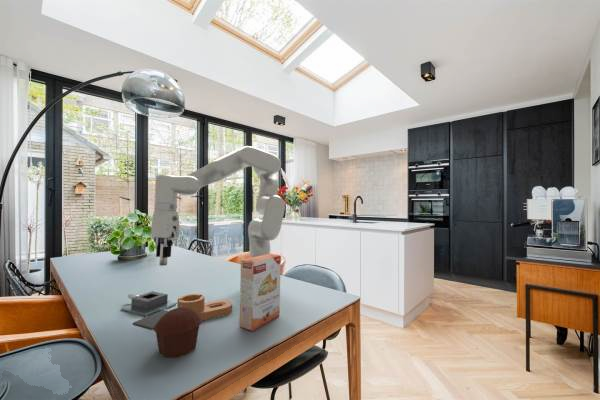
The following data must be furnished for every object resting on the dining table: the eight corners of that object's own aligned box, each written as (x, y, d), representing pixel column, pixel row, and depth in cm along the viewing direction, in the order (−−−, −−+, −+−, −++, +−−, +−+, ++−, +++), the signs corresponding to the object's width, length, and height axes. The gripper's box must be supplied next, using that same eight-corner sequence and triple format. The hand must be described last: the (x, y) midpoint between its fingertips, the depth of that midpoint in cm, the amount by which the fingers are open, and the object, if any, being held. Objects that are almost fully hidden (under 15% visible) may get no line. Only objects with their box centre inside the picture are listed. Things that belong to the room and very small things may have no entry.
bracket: (180, 326, 83) (180, 304, 83) (175, 317, 90) (175, 296, 90) (235, 313, 93) (235, 293, 93) (227, 305, 100) (227, 287, 100)
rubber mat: (182, 315, 90) (182, 314, 90) (152, 329, 80) (152, 328, 80) (163, 311, 94) (163, 310, 94) (132, 323, 84) (132, 322, 84)
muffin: (167, 337, 76) (168, 302, 76) (206, 337, 76) (207, 302, 76) (144, 362, 64) (144, 320, 64) (190, 362, 64) (191, 320, 64)
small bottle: (169, 264, 101) (170, 238, 101) (162, 266, 98) (163, 238, 98) (163, 263, 102) (165, 237, 102) (156, 265, 99) (157, 238, 99)
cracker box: (253, 332, 79) (254, 261, 80) (238, 327, 82) (239, 259, 83) (281, 316, 91) (281, 254, 91) (267, 312, 94) (267, 252, 95)
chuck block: (177, 304, 100) (177, 293, 100) (147, 316, 89) (148, 304, 89) (144, 297, 107) (144, 287, 107) (113, 308, 96) (113, 296, 96)
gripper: (189, 208, 101) (187, 257, 100) (159, 207, 107) (157, 253, 107) (172, 208, 94) (170, 260, 93) (141, 207, 100) (139, 256, 100)
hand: (163, 256), depth 100 cm, fingers closed on small bottle, 2 cm apart
